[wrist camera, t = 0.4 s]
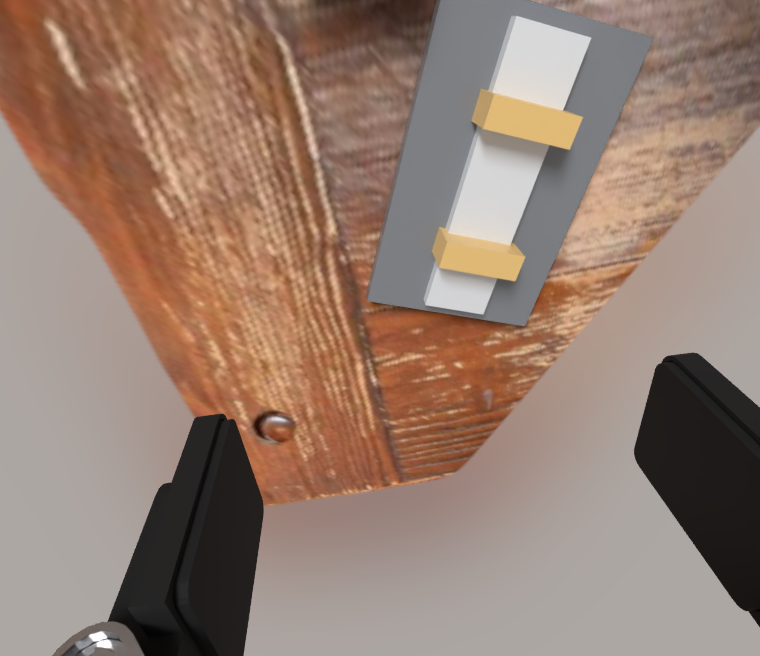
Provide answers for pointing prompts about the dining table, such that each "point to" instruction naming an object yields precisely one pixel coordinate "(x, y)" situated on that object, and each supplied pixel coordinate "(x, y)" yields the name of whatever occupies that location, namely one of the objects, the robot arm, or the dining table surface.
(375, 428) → the dining table surface
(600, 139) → the rail board
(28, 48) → the dining table surface
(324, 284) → the dining table surface
